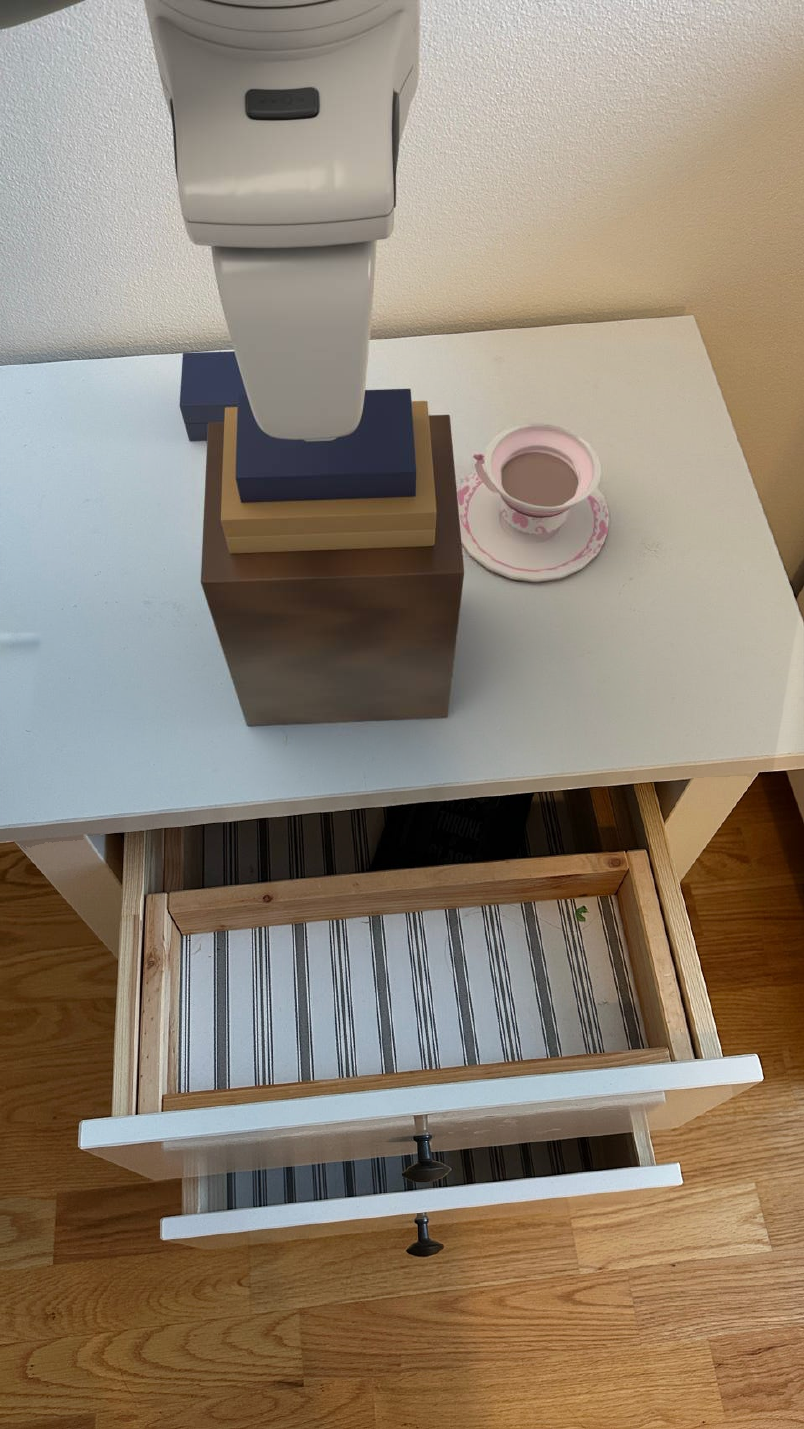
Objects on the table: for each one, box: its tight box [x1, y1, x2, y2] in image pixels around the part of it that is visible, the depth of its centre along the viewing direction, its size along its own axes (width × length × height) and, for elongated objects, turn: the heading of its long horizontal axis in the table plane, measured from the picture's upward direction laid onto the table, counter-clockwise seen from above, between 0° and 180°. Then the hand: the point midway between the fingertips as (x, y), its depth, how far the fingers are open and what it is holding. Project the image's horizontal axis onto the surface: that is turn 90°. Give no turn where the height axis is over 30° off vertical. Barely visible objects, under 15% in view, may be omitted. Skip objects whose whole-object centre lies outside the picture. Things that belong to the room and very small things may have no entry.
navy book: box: [235, 388, 417, 503], centre depth 51 cm, size 9×6×2 cm, turn 93°
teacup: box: [457, 422, 610, 583], centre depth 73 cm, size 12×12×6 cm
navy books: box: [179, 350, 247, 442], centre depth 78 cm, size 9×6×4 cm, turn 93°
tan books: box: [221, 400, 436, 554], centre depth 53 cm, size 11×8×3 cm
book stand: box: [200, 414, 465, 727], centre depth 62 cm, size 14×11×18 cm
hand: (317, 348), depth 45 cm, fingers open, 8 cm apart
